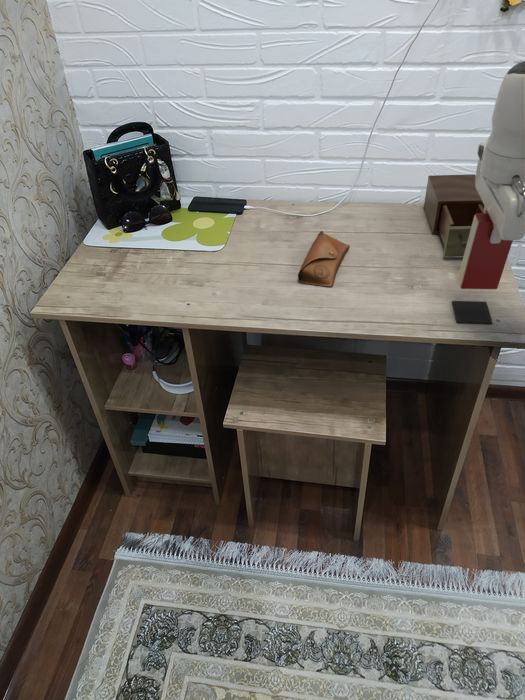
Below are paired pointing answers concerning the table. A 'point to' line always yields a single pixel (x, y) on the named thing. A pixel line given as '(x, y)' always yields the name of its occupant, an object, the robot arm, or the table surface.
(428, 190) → the cabinet
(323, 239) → the sunglasses case
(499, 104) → the robot arm
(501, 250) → the book
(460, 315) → the coaster
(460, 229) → the drawer
